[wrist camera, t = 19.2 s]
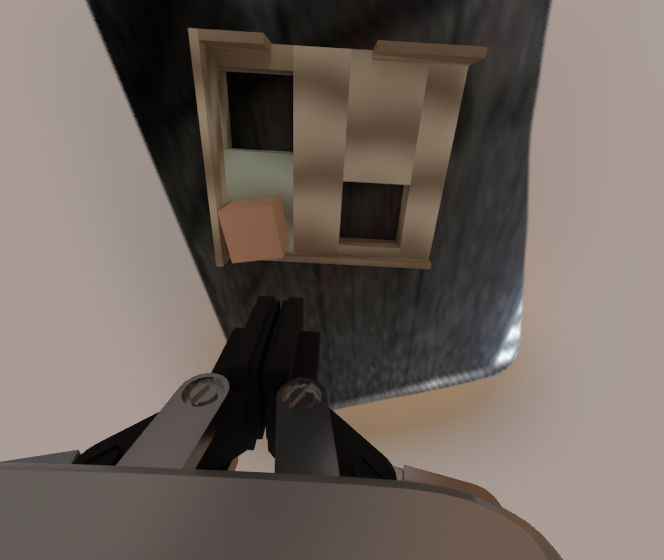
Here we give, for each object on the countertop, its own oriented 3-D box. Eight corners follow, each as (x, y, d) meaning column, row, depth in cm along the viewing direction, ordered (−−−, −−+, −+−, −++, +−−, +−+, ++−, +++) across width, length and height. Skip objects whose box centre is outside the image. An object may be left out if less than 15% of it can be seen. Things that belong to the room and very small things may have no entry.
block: (232, 201, 28) (217, 211, 25) (280, 195, 28) (272, 205, 25) (244, 247, 30) (232, 263, 27) (289, 242, 30) (283, 257, 26)
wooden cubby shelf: (216, 47, 25) (187, 28, 20) (458, 62, 26) (487, 47, 21) (234, 245, 33) (216, 266, 28) (421, 256, 33) (436, 278, 28)
